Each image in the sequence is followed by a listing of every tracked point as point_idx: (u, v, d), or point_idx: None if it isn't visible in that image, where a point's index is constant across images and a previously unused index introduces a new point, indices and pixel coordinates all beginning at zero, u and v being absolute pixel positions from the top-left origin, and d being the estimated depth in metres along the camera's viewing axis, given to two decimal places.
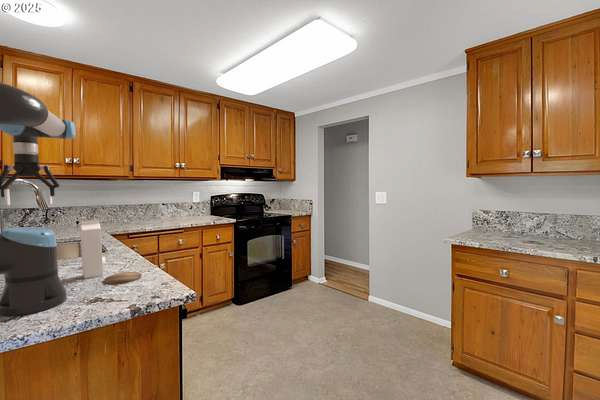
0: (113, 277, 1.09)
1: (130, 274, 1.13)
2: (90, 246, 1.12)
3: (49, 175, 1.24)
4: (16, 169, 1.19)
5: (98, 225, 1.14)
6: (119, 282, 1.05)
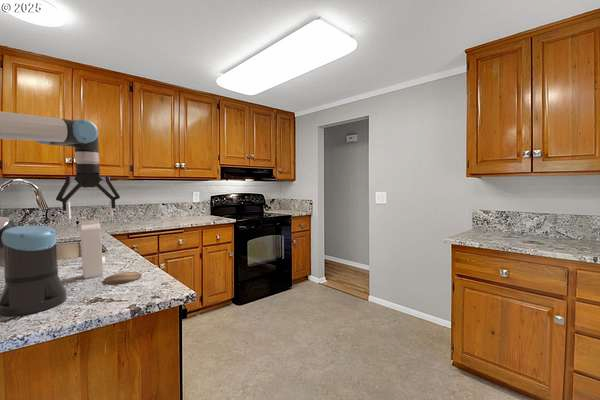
0: (113, 277, 1.09)
1: (130, 274, 1.13)
2: (90, 246, 1.12)
3: (110, 186, 1.15)
4: (78, 180, 1.10)
5: (98, 225, 1.14)
6: (119, 282, 1.05)
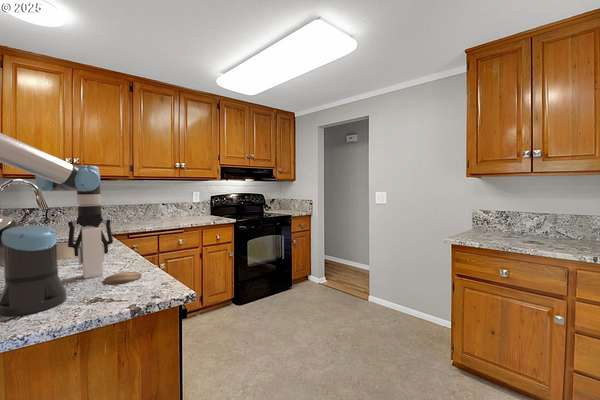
0: (113, 277, 1.09)
1: (130, 274, 1.13)
2: (90, 246, 1.12)
3: (108, 230, 1.16)
4: (80, 222, 1.11)
5: None
6: (119, 282, 1.05)
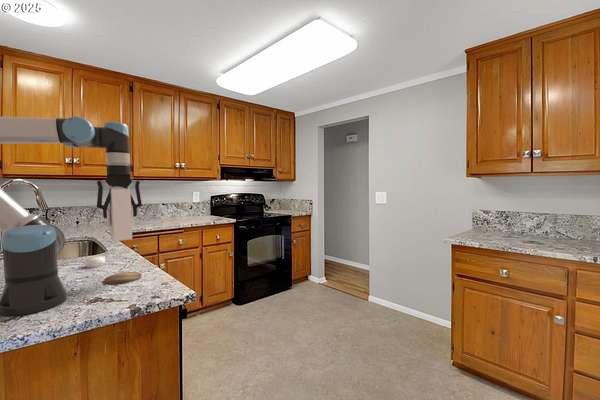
0: (113, 277, 1.09)
1: (130, 274, 1.13)
2: (120, 208, 1.06)
3: (137, 192, 1.10)
4: (109, 182, 1.06)
5: None
6: (119, 282, 1.05)
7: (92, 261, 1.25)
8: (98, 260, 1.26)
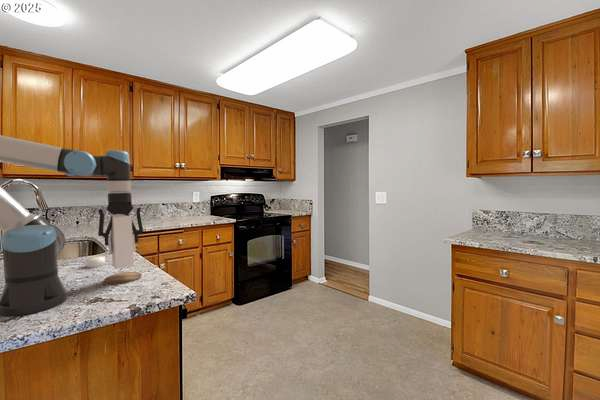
0: (113, 277, 1.09)
1: (130, 274, 1.13)
2: (121, 235, 1.07)
3: (139, 218, 1.11)
4: (111, 210, 1.07)
5: None
6: (119, 282, 1.05)
7: (93, 261, 1.25)
8: (98, 260, 1.26)
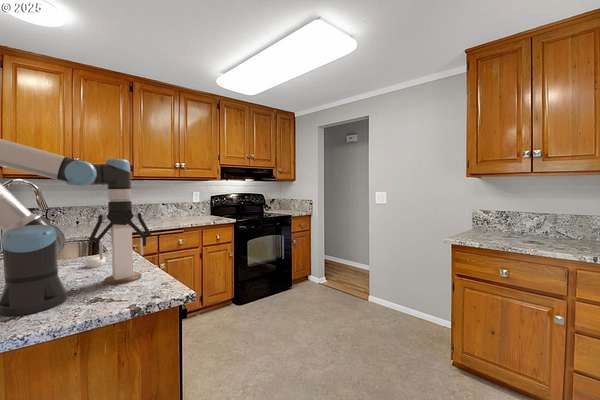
0: (113, 277, 1.09)
1: None
2: (121, 246, 1.07)
3: (142, 223, 1.11)
4: (110, 218, 1.07)
5: None
6: (119, 282, 1.05)
7: (93, 261, 1.25)
8: (99, 260, 1.26)
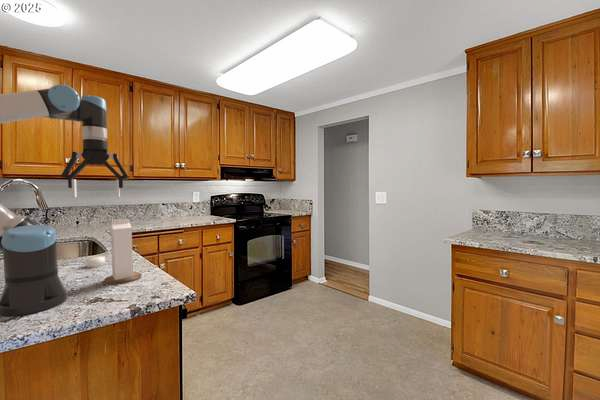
0: (113, 277, 1.09)
1: None
2: (121, 246, 1.07)
3: (118, 164, 1.09)
4: (84, 156, 1.05)
5: (128, 224, 1.10)
6: (119, 282, 1.05)
7: (94, 261, 1.25)
8: (100, 260, 1.27)
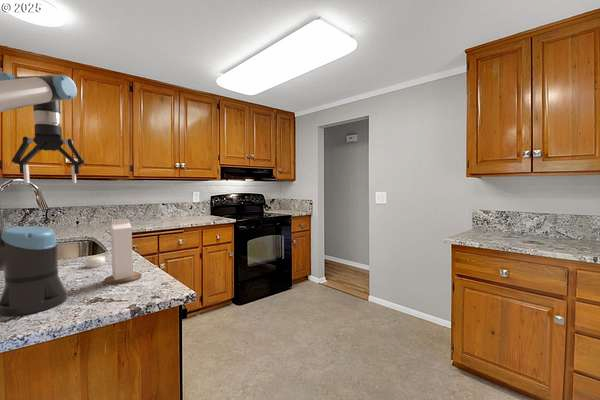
0: (113, 277, 1.09)
1: None
2: (121, 246, 1.07)
3: (73, 150, 1.08)
4: (37, 142, 1.03)
5: (128, 224, 1.10)
6: (119, 282, 1.05)
7: (95, 261, 1.25)
8: (100, 260, 1.27)
